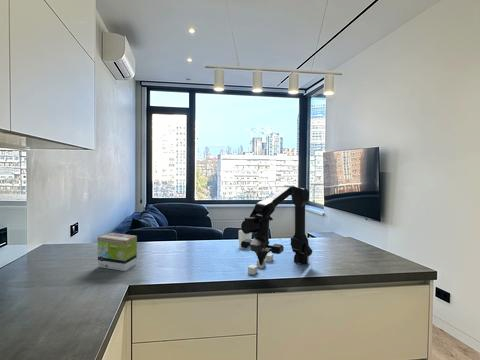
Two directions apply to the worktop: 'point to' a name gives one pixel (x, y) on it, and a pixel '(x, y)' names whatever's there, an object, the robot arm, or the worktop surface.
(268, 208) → the robot arm
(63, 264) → the worktop surface
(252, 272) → the near slider
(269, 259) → the block
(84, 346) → the worktop surface
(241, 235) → the white cup
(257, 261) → the middle slider
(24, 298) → the worktop surface
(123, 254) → the tea box
